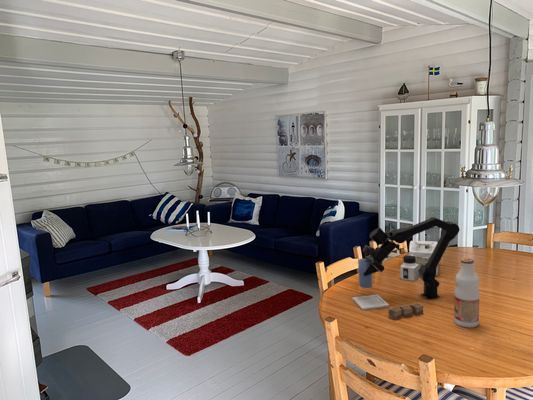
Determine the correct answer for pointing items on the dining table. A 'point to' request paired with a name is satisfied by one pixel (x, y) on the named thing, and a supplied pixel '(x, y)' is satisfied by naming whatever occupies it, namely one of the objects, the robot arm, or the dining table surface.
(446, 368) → the dining table surface
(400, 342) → the dining table surface
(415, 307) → the walnut block
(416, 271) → the container
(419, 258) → the storage basket
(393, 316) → the walnut block
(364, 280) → the blue cylinder
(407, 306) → the walnut block
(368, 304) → the tray
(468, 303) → the fruit juice
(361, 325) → the dining table surface
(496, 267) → the dining table surface
